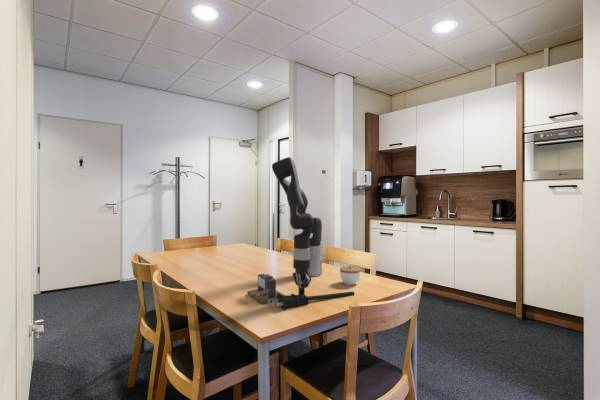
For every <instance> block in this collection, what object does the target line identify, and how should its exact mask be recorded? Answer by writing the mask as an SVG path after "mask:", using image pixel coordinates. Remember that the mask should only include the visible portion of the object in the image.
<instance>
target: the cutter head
mask: <svg viewBox="0 0 600 400" xmlns="http://www.w3.org/2000/svg"><path fill="white" fill-rule="evenodd" d="M272 279H275V280H276V278H275V277H273V276H272V275H270V274H269V273H267V274H265V275H260V276H258V275H257V286H258V285H259V286H261V287H262V288H263V291H264V292H266V293H267V294H268V280H272Z"/></svg>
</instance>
